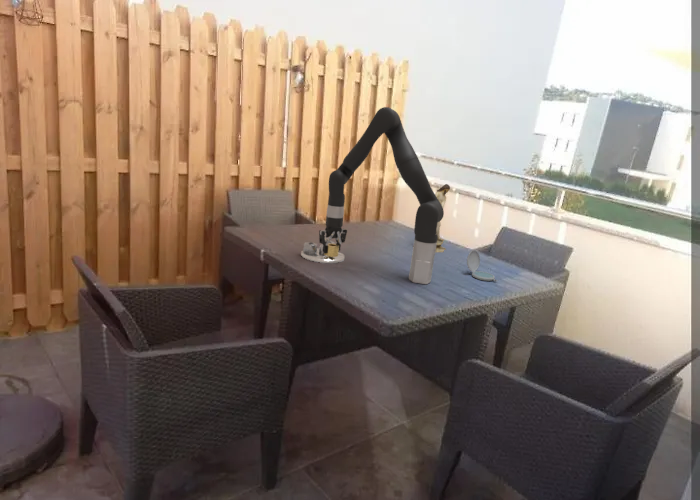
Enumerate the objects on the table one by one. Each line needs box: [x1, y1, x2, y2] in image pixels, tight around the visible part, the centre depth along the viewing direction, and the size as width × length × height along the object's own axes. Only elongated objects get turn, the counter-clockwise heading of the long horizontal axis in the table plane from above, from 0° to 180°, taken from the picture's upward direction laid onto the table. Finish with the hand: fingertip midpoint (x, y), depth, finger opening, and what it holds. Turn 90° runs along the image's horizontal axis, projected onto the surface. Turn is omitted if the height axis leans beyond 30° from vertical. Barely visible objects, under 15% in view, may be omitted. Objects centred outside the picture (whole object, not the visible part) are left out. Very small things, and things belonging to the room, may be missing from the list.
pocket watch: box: [466, 250, 499, 282], centre depth 211 cm, size 10×11×15 cm
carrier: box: [300, 240, 346, 264], centre depth 215 cm, size 20×20×6 cm
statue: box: [412, 183, 451, 254], centre depth 252 cm, size 17×17×35 cm
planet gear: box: [324, 243, 340, 257], centre depth 210 cm, size 6×6×4 cm
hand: (331, 252), depth 211 cm, fingers closed on planet gear, 6 cm apart
